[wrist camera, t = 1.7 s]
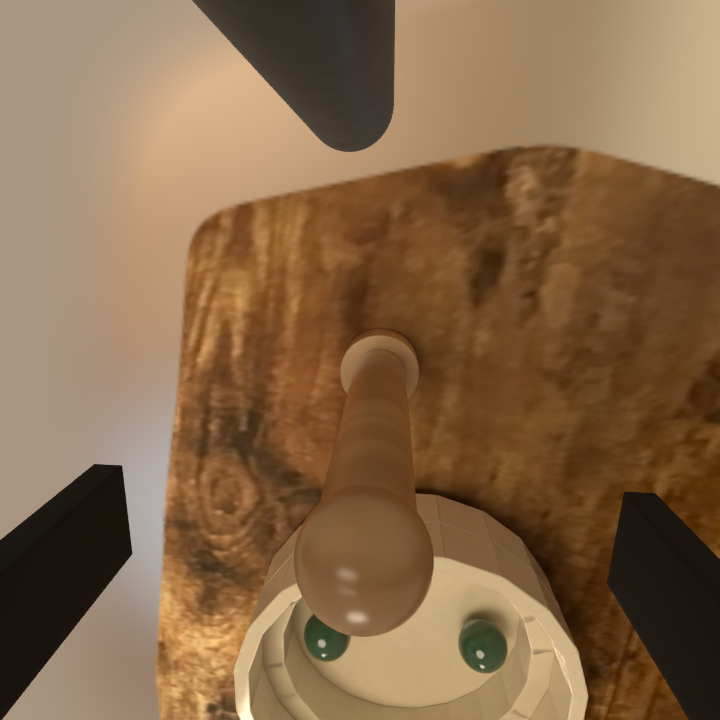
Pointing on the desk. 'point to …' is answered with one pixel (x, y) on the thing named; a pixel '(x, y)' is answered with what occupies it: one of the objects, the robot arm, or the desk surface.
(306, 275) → the desk surface
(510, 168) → the desk surface
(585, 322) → the desk surface
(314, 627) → the marble
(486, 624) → the marble
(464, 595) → the bowl
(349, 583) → the muddler
